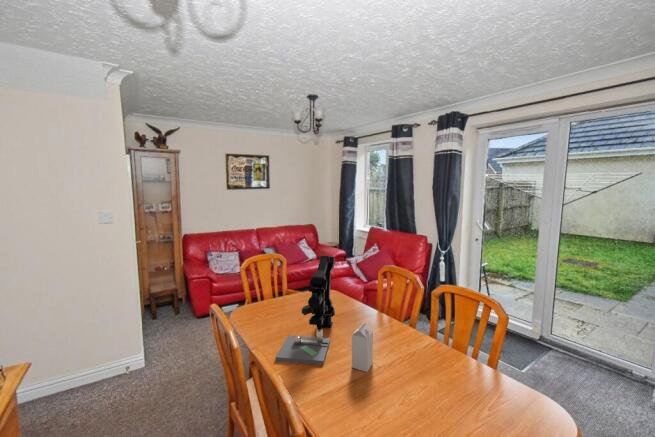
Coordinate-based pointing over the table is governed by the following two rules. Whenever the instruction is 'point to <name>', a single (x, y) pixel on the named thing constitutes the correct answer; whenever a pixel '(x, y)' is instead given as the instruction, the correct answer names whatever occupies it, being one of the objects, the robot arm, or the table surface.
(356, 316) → the table surface
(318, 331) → the lever
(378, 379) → the table surface
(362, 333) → the milk carton
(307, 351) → the board
